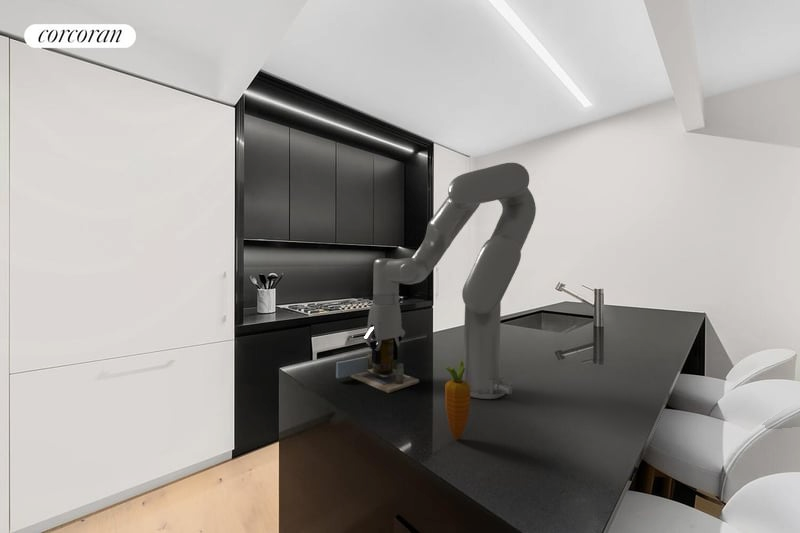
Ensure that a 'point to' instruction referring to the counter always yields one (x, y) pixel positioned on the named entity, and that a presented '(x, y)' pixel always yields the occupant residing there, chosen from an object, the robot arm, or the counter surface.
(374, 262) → the robot arm
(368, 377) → the gate frame
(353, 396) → the counter surface
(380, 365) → the condiment
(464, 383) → the carrot
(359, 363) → the panel
